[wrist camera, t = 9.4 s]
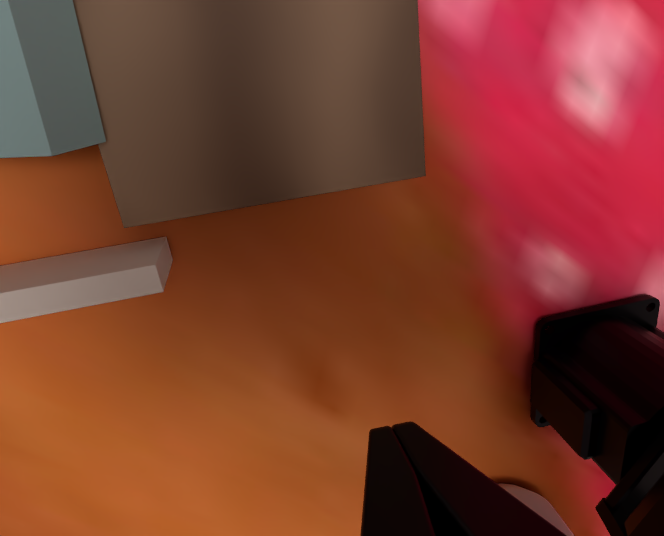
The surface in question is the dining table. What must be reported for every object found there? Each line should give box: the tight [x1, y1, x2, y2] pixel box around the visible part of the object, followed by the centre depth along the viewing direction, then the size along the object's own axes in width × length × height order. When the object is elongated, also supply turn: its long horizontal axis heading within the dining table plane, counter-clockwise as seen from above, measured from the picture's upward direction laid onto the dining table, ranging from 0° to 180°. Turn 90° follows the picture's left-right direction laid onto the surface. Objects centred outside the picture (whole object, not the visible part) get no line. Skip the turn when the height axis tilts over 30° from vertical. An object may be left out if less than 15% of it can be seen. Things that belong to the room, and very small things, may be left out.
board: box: [73, 0, 426, 228], centre depth 16 cm, size 11×11×2 cm
